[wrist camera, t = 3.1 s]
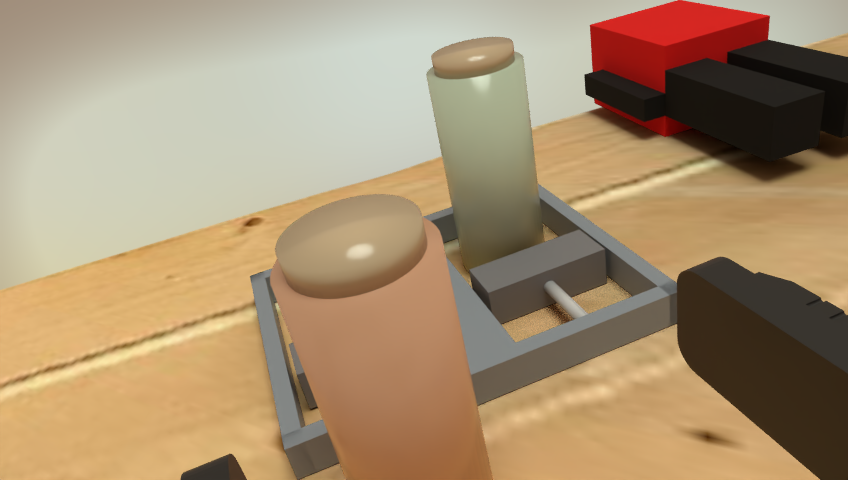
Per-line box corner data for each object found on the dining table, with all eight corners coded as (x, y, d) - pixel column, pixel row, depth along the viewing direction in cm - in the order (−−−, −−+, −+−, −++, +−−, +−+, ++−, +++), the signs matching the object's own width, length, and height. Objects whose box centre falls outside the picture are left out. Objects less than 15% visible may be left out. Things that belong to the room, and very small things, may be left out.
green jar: (482, 290, 43) (443, 72, 35) (450, 251, 48) (410, 53, 40) (561, 260, 44) (539, 44, 36) (521, 225, 49) (495, 29, 41)
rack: (297, 479, 32) (281, 444, 30) (259, 300, 47) (248, 271, 46) (684, 320, 36) (685, 283, 35) (535, 203, 51) (531, 174, 50)
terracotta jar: (388, 602, 25) (272, 306, 18) (354, 490, 30) (252, 223, 23) (522, 540, 27) (464, 238, 19) (467, 441, 32) (404, 172, 24)
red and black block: (751, 86, 42) (571, 30, 64) (743, 195, 47) (577, 108, 68) (927, 31, 45) (697, -5, 66) (905, 140, 49) (695, 72, 70)
